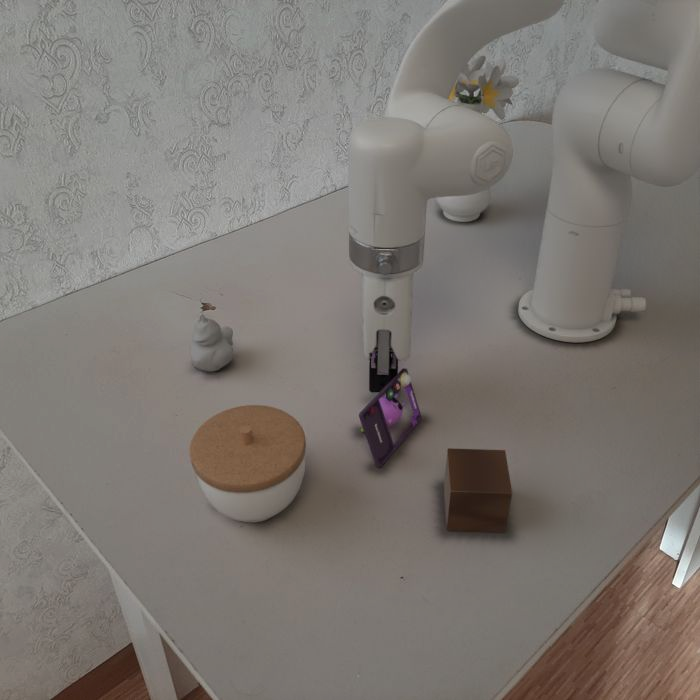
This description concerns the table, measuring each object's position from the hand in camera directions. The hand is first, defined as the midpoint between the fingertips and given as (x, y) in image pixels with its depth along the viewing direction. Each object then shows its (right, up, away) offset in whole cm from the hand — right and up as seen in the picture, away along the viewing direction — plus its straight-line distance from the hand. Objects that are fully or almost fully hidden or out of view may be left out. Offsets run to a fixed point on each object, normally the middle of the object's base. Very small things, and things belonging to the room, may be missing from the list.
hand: (383, 387), depth 82 cm
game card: (0, -5, -4) cm, 7 cm away
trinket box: (-13, -11, -11) cm, 20 cm away
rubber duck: (-21, +3, +6) cm, 22 cm away
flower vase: (+15, +28, +39) cm, 50 cm away
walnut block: (+8, -11, -13) cm, 19 cm away
